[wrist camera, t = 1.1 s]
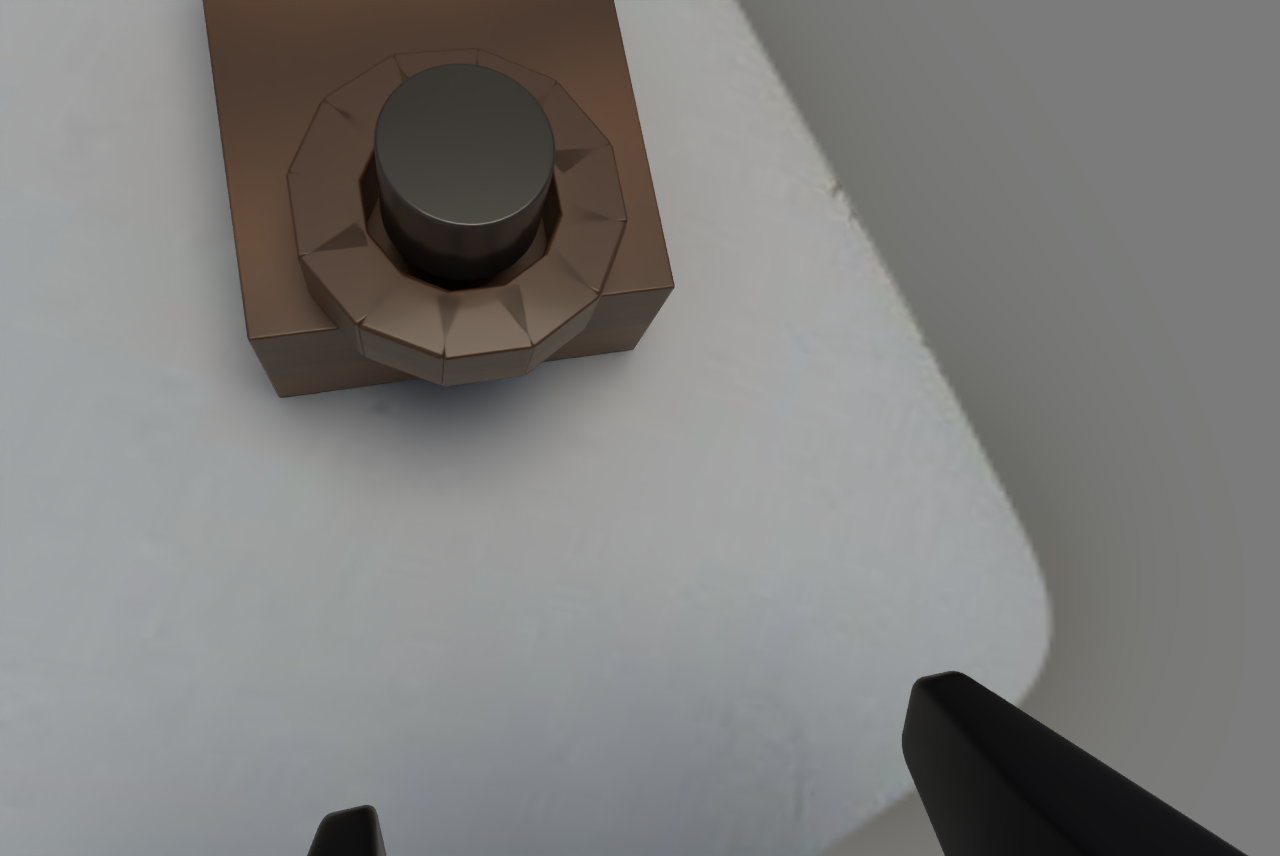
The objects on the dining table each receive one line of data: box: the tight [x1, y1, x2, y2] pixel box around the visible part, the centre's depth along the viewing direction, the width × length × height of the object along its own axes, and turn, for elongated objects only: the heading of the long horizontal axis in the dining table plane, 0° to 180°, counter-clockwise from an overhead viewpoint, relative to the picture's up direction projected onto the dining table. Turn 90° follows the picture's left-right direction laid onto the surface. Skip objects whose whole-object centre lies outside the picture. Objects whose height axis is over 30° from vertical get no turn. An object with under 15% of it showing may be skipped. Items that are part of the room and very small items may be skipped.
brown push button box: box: [203, 0, 674, 397], centre depth 21 cm, size 11×8×6 cm
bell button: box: [374, 63, 556, 280], centre depth 17 cm, size 3×3×2 cm
